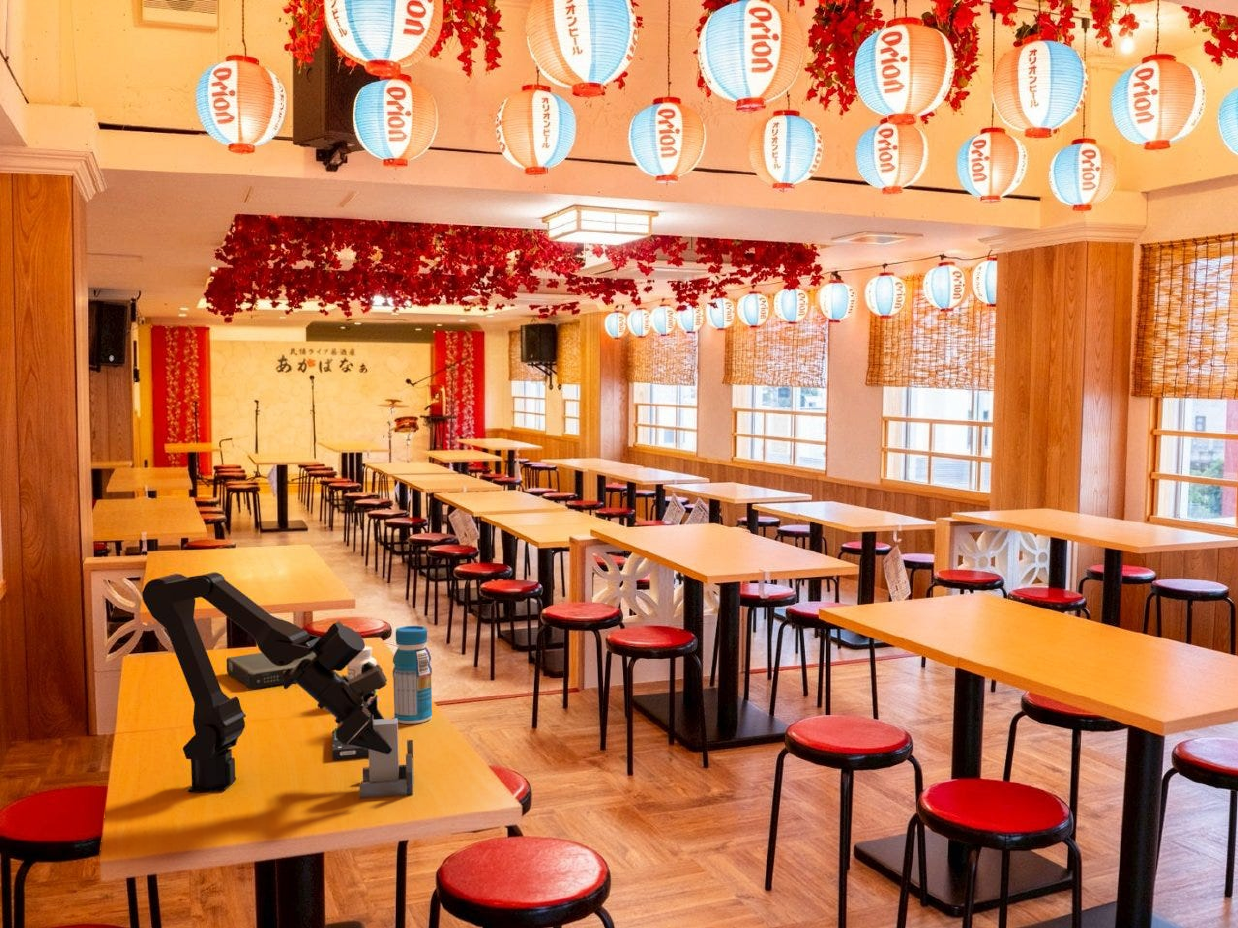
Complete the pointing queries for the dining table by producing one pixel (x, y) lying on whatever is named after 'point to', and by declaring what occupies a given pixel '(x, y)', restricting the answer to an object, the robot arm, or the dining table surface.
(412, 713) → the beverage bottle
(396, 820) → the dining table surface
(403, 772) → the rack
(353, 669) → the supplement bottle
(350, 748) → the disk drive
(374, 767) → the grey block
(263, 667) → the network switch
